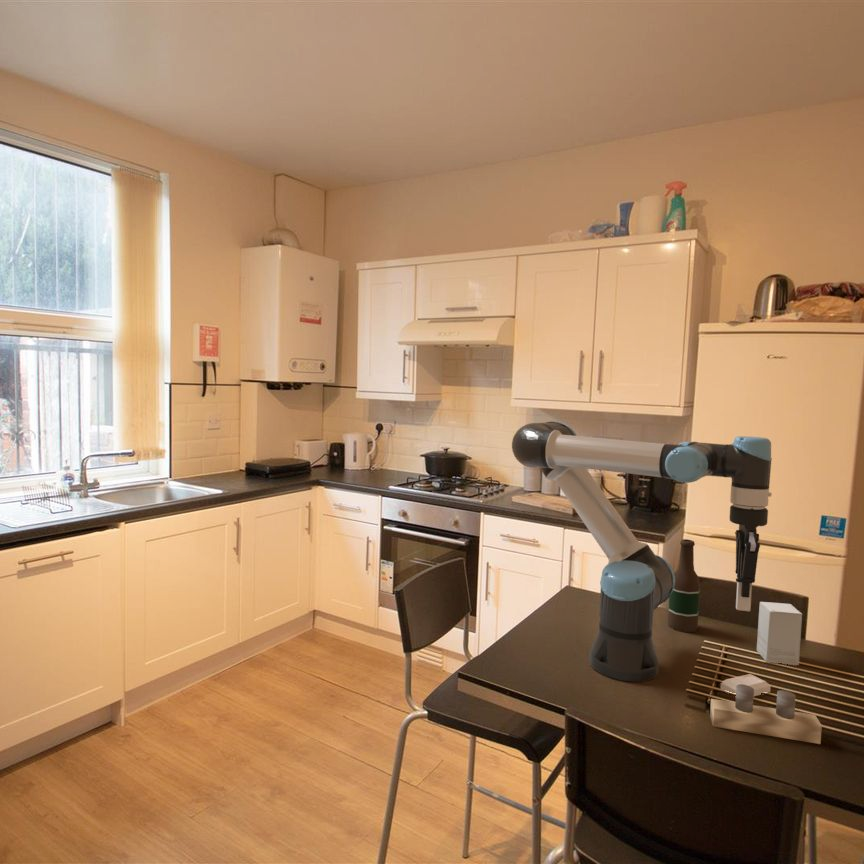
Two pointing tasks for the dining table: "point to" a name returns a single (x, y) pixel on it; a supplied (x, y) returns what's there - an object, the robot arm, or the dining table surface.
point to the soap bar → (748, 680)
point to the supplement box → (779, 633)
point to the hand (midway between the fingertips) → (743, 609)
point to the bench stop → (765, 716)
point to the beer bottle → (685, 592)
